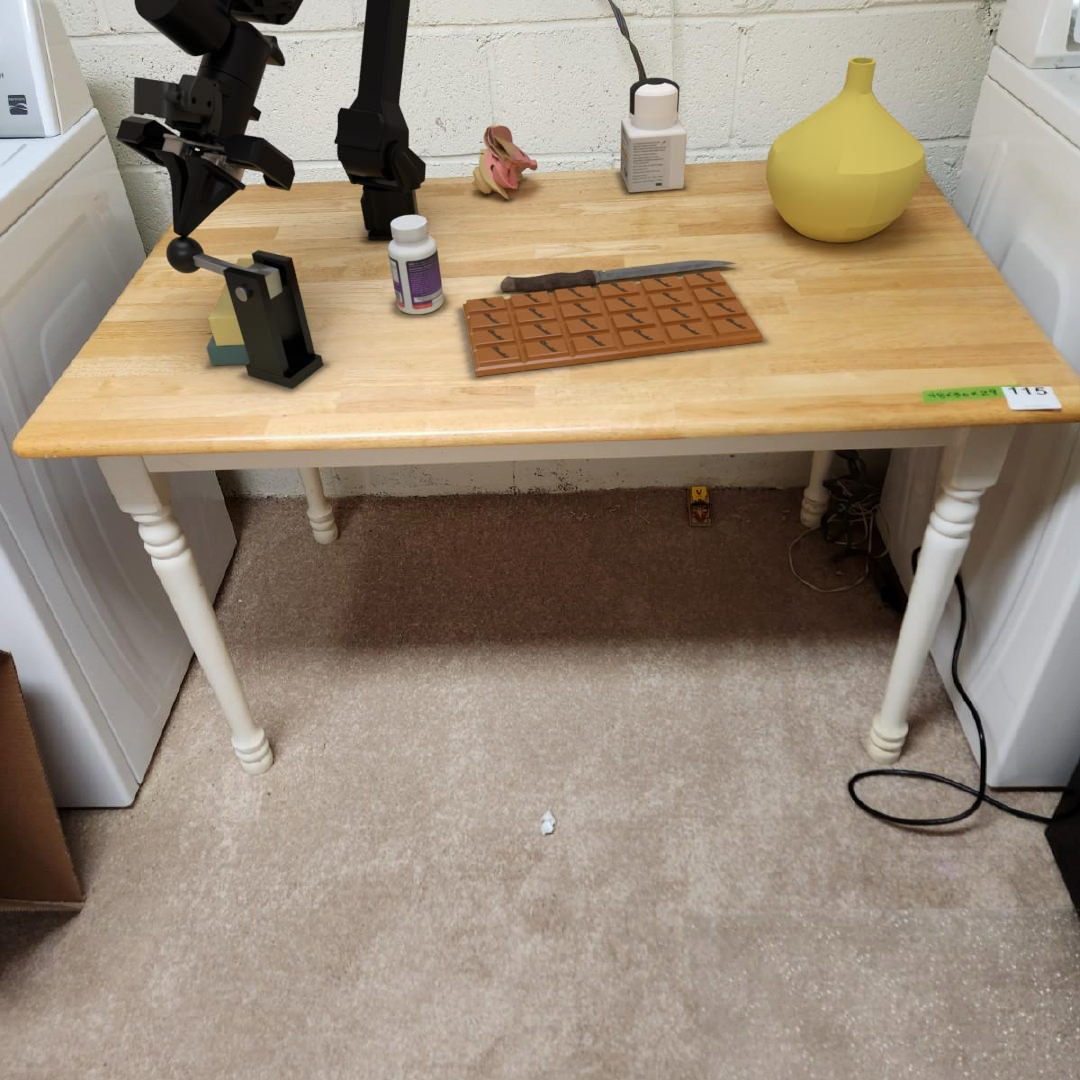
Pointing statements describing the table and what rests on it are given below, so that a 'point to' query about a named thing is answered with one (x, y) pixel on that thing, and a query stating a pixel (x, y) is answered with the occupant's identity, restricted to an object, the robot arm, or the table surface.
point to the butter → (227, 315)
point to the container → (653, 137)
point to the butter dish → (226, 354)
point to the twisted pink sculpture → (500, 162)
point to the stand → (273, 323)
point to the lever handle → (214, 263)
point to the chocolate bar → (605, 323)
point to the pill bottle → (415, 266)
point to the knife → (599, 276)
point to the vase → (845, 165)
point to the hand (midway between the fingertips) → (179, 235)
